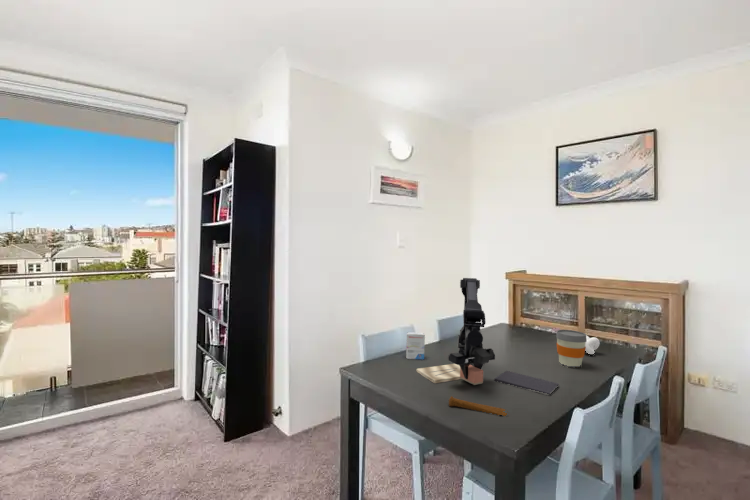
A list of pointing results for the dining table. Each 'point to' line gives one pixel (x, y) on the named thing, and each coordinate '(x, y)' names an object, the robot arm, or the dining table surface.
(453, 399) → the primitive tool
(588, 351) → the white rounded figurine
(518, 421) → the dining table surface
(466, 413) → the dining table surface
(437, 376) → the board
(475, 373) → the block
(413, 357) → the ink box
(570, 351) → the reusable coffee cup
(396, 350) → the dining table surface
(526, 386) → the notebook
